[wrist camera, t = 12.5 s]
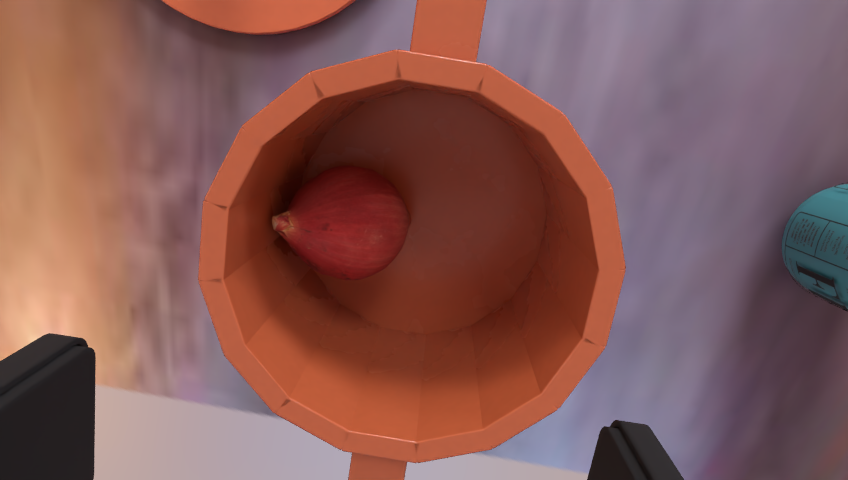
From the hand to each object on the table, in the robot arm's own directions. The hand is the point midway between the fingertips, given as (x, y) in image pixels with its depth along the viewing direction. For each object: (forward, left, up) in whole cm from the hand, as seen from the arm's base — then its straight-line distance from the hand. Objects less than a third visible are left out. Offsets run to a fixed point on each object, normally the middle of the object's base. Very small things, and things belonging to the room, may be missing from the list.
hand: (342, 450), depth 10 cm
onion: (0, 0, -21) cm, 21 cm away
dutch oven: (0, 0, -23) cm, 23 cm away
